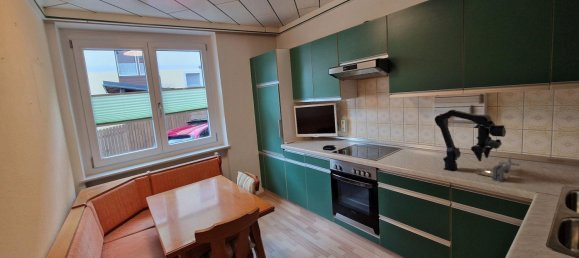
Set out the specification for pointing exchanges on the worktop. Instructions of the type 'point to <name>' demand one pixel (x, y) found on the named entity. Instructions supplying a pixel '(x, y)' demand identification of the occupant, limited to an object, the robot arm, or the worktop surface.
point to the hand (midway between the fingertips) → (483, 159)
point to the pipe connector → (509, 163)
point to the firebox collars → (500, 172)
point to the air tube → (491, 173)
